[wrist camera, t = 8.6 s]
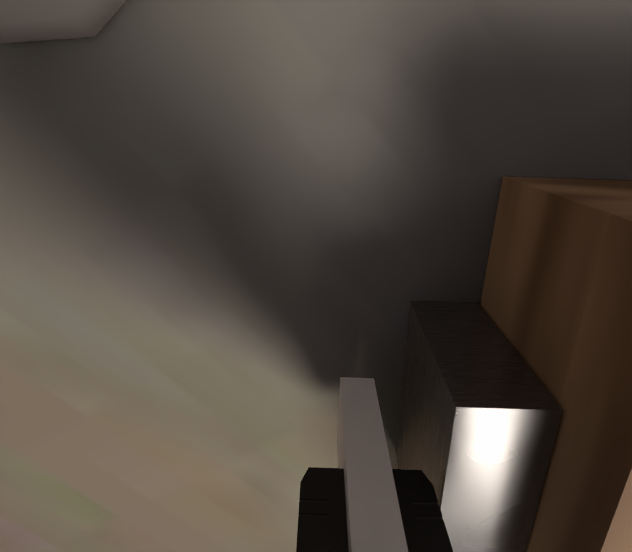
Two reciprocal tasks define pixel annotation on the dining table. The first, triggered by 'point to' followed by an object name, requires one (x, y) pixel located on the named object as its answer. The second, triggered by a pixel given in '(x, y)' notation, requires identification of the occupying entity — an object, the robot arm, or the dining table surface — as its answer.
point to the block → (572, 345)
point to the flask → (54, 19)
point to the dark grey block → (474, 425)
